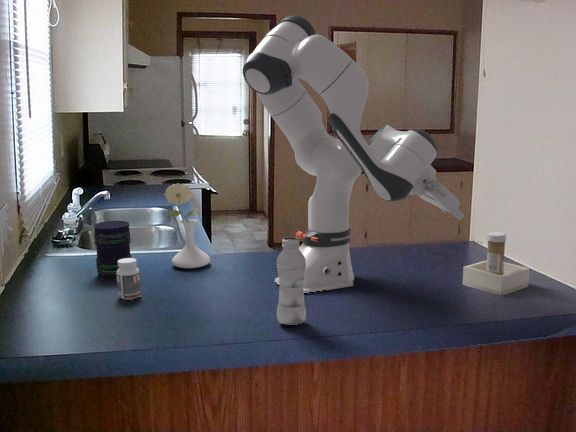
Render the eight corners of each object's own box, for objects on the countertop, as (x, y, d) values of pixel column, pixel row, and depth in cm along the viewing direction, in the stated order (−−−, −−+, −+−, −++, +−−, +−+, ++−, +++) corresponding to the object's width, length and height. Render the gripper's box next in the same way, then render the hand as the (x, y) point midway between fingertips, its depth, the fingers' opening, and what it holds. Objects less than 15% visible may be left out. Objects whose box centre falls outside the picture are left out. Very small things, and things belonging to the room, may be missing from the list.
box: (500, 296, 170) (501, 277, 169) (462, 284, 179) (463, 266, 178) (528, 286, 177) (529, 268, 176) (490, 276, 186) (491, 258, 185)
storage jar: (100, 282, 185) (96, 229, 182) (94, 273, 194) (90, 222, 191) (136, 277, 189) (132, 226, 186) (129, 268, 198) (126, 219, 195)
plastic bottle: (275, 319, 156) (274, 235, 151) (304, 318, 156) (304, 234, 152) (277, 329, 149) (276, 242, 145) (308, 328, 150) (307, 241, 146)
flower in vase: (215, 261, 205) (212, 180, 199) (204, 272, 194) (200, 186, 188) (174, 260, 207) (170, 179, 202) (161, 270, 196) (156, 186, 191)
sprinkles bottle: (507, 283, 177) (509, 233, 174) (495, 286, 174) (498, 236, 171) (493, 279, 180) (495, 230, 178) (481, 282, 178) (484, 232, 175)
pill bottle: (145, 295, 174) (143, 258, 172) (133, 302, 169) (131, 264, 167) (126, 293, 176) (123, 256, 174) (113, 300, 171) (111, 262, 169)
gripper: (441, 174, 160) (479, 212, 163) (414, 164, 179) (448, 199, 183) (423, 193, 160) (461, 231, 163) (398, 181, 180) (432, 215, 183)
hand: (454, 214), depth 173 cm, fingers open, 8 cm apart
